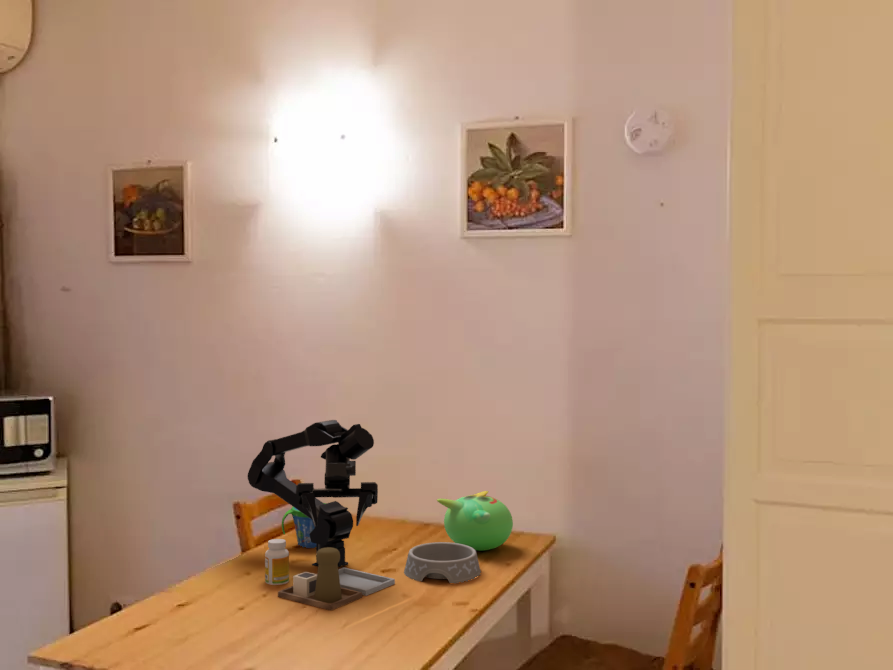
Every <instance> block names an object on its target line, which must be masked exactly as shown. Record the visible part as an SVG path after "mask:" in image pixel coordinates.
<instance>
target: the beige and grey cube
mask: <svg viewBox="0 0 893 670" xmlns="http://www.w3.org/2000/svg"><path fill="white" fill-rule="evenodd" d="M292 579H293V580H292V581H293V582H292V583H293V584H292V586H293V594H295V595H299V596H303V597H306V598H307V597H310V596H312V595H315V588H316V580H317V573H314V572H309V571H303V572H301V573H297V574H295V575H293V576H292Z"/></svg>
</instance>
